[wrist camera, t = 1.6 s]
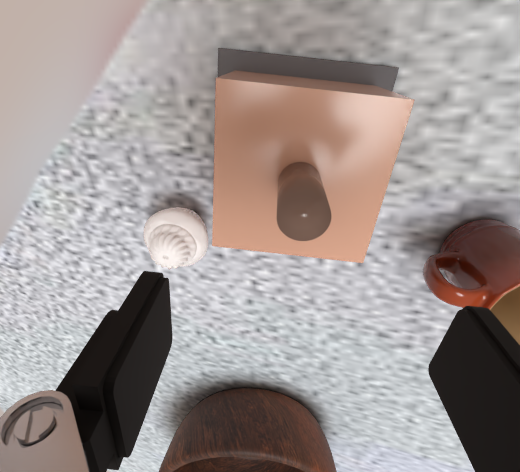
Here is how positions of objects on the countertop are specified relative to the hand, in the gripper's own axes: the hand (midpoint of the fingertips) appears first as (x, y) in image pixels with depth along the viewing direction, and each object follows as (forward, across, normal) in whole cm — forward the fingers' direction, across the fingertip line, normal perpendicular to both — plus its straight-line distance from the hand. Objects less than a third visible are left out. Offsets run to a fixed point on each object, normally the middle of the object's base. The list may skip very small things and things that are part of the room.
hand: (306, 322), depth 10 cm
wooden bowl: (+22, 0, +44) cm, 50 cm away
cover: (+21, 0, -1) cm, 21 cm away
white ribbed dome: (+22, +10, +8) cm, 25 cm away
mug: (+21, -18, +7) cm, 29 cm away
